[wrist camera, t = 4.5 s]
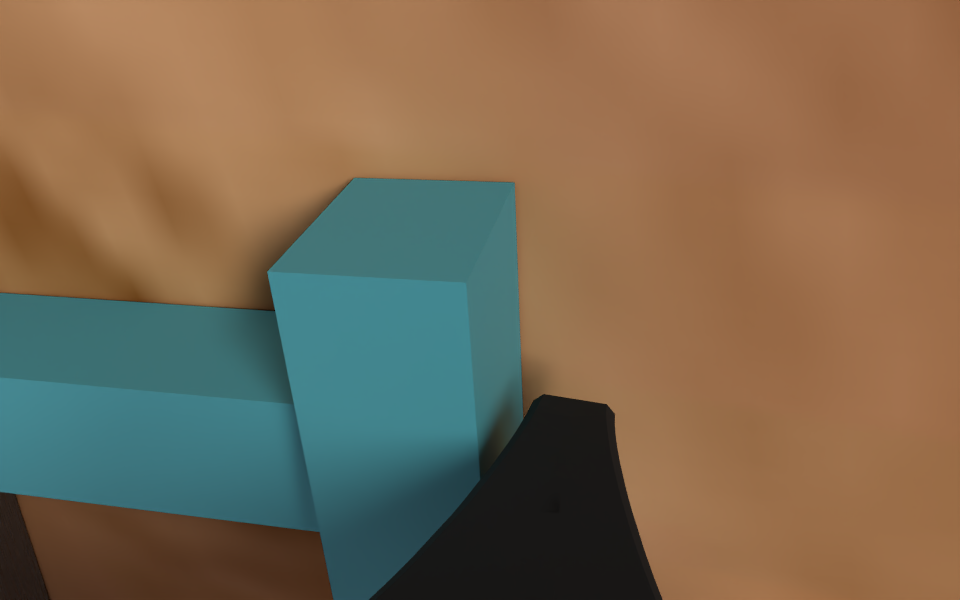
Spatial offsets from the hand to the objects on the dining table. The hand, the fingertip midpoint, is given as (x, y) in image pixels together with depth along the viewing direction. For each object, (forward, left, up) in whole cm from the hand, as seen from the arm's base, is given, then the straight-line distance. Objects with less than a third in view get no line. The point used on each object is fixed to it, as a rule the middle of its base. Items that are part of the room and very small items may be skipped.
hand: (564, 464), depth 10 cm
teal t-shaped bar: (0, +5, -1) cm, 5 cm away
